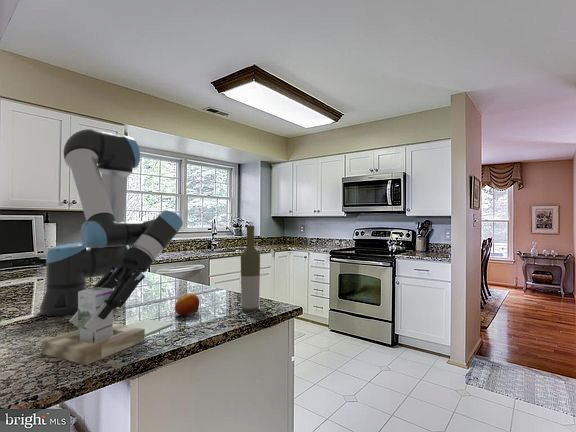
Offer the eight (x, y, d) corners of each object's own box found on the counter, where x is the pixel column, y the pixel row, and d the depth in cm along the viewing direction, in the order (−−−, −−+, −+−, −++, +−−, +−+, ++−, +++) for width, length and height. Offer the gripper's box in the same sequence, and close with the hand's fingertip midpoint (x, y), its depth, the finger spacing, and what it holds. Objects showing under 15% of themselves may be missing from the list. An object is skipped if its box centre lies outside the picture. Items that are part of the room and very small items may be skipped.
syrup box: (114, 343, 85) (114, 287, 85) (93, 352, 79) (94, 292, 79) (97, 341, 87) (97, 286, 87) (76, 349, 81) (77, 290, 81)
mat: (115, 331, 94) (115, 329, 94) (145, 320, 104) (145, 319, 104) (143, 336, 90) (143, 334, 90) (172, 324, 100) (172, 323, 100)
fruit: (197, 314, 106) (186, 292, 107) (178, 325, 108) (167, 304, 109) (208, 307, 114) (197, 287, 115) (190, 318, 116) (180, 298, 117)
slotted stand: (41, 353, 79) (42, 340, 79) (102, 332, 93) (102, 321, 93) (86, 365, 72) (87, 351, 72) (144, 340, 87) (144, 329, 87)
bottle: (242, 307, 120) (242, 225, 121) (261, 307, 120) (261, 225, 121) (238, 312, 113) (238, 225, 114) (258, 312, 113) (258, 225, 114)
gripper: (172, 265, 91) (113, 342, 77) (131, 260, 101) (73, 327, 88) (155, 247, 86) (89, 326, 72) (114, 244, 97) (50, 312, 83)
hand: (81, 326), depth 80 cm, fingers closed on syrup box, 7 cm apart
